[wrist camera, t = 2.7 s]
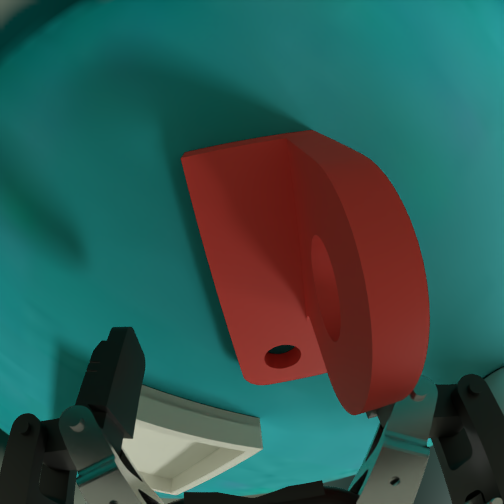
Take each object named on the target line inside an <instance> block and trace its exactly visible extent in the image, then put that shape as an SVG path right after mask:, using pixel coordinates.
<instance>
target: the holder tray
mask: <svg viewBox="0 0 504 504" xmlns="http://www.w3.org/2000/svg"><path fill="white" fill-rule="evenodd" d="M122 447H123V449H124V450H125V452H126V453H127V455H128V457H129V458H130V460H131V461H132V463H133V464H134V466H135V467H136V469H137V470H138V472H139V473H140V475H141V476H142V477H143V479H144V480H145V482H146V483H147V484H148V486H149V487H150V488H151V489H152V490H153V491H158V492H162V493H167V494H172V495H178V494H180V493H182V492H184V491H186V490H189V489H191V488H193V487H195V486H197V485H199V484H201V483H203V482H205V481H207V480H209V479H211V478H213V477H215V476H217V475H219V474H220V473H222V472H224V471H226V470H228V469H230V468H231V467H233V466H235V465H237V464H239V463H240V462H242V461H244V460H245V459H247V458H249V457H250V456H252V455H254V454H255V453H257V452H259V451H260V450H262V449H263V445H262V436H261V427H260V418H256V417H251V416H247V415H242V414H238V413H234V412H230V411H226V410H222V409H218V408H214V407H210V406H207V405H203V404H199V403H196V402H193V401H189V400H186V399H183V398H180V397H176V396H173V395H170V394H167V393H164V392H161V391H158V390H155V389H153V388H150V387H147V386H144V385H142V387H141V393H140V398H139V404H138V410H137V416H136V422H135V429H134V436H133V439H126V438H123V442H122Z"/></svg>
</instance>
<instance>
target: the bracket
mask: <svg viewBox="0 0 504 504" xmlns="http://www.w3.org/2000/svg"><path fill="white" fill-rule="evenodd" d="M181 161H182V166H183V170H184V174H185V178H186V182H187V186H188V189H189V193H190V197H191V201H192V205H193V209H194V212H195V216H196V220H197V224H198V227H199V231H200V235H201V238H202V242H203V246H204V249H205V253H206V256H207V260H208V263H209V267H210V270H211V274H212V277H213V281H214V284H215V287H216V291H217V294H218V297H219V301H220V304H221V307H222V311H223V314H224V317H225V320H226V324H227V327H228V330H229V333H230V336H231V340H232V343H233V346H234V349H235V352H236V355H237V358H238V361H239V364H240V367H241V370H242V373H243V376H244V378H245V379H246V380H247V381H248V382H250V383H252V384H256V385H268V384H274V383H280V382H285V381H290V380H295V379H300V378H305V377H310V376H315V375H319V374H323V373H328V376H329V378H330V381H331V384H332V386H333V389H334V391H335V393H336V395H337V397H338V399H339V401H340V403H341V404H342V406H343V407H344V409H345V410H346V411H347V412H348V413H350V414H351V415H357V414H361V413H364V412H368V411H371V410H374V409H377V408H380V407H384V406H387V405H390V404H393V403H395V402H398V401H401V400H403V399H405V398H406V397H407V396H408V395H409V394H410V393H411V392H412V391H413V389H414V388H415V386H416V384H417V382H418V380H419V378H420V375H421V373H422V370H423V367H424V363H425V359H426V354H427V348H428V340H429V326H430V316H429V296H428V287H427V279H426V274H425V268H424V263H423V259H422V255H421V251H420V247H419V244H418V240H417V237H416V234H415V231H414V229H413V226H412V223H411V220H410V218H409V216H408V214H407V211H406V209H405V207H404V205H403V203H402V201H401V199H400V197H399V195H398V194H397V192H396V190H395V188H394V187H393V185H392V184H391V182H390V181H389V179H388V178H387V177H386V175H385V174H384V173H383V172H382V171H381V169H380V168H379V167H378V166H377V165H376V164H375V163H374V162H373V161H371V160H370V159H369V158H367V157H366V156H364V155H363V154H361V153H359V152H357V151H355V150H353V149H351V148H349V147H347V146H345V145H343V144H341V143H339V142H337V141H335V140H333V139H331V138H328V137H326V136H324V135H322V134H320V133H318V132H316V131H313V130H307V131H300V132H292V133H285V134H278V135H272V136H265V137H259V138H253V139H248V140H242V141H237V142H231V143H226V144H221V145H216V146H212V147H207V148H202V149H198V150H193V151H189V152H185V153H184V154H183V156H182V157H181ZM280 345H293V346H295V347H294V348H293V349H292V350H290V351H288V352H286V353H282V354H272V353H269V352H268V351H269V350H270V349H272V348H274V347H276V346H280Z"/></svg>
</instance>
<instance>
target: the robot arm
mask: <svg viewBox="0 0 504 504" xmlns="http://www.w3.org/2000/svg"><path fill="white" fill-rule="evenodd" d="M144 371H145V357H144V353H143V351H142V349H141V346H140V344H139V342H138V339H137V337H136V334H135V332H134V330H133V328H132V327H113V328H112V329H111V331H110V334H109V336H108V339H107V341H101V342H100V343H99V345H98V346H97V347H96V348H95V349H94V351H93V353H92V356H91V359H90V363H89V365H88V367H87V372H86V373H85V376H84V379H83V382H82V385H81V388H80V391H79V395H78V398H77V401H76V404H75V406H71V407H69V408H67V409H66V410H65V411H64V412H63V413H62V414H61V416H60V418H58V419H52V420H46V421H40V420H39V419H38V418H37V417H36V416H35V415H33V414H30V413H26V414H22V415H20V416H19V417H18V418H17V419H16V420H15V421H14V423H13V425H12V428H11V432H10V435H9V439H8V442H7V447H6V451H5V455H4V459H3V463H2V467H1V472H0V504H74V491H75V482H77V485H78V487H79V489H80V491H81V493H82V495H83V497H84V499H85V501H86V503H87V504H164V503H163V501H162V500H161V499H160V498H159V497H158V495H157V494H156V493H155V492H154V491H153V490H152V489H151V488H150V487H149V486H148V484H147V483H146V482H145V480H144V479H143V477H142V476H141V475H140V473H139V472H138V470H137V469H136V467H135V466H134V464H133V463H132V461H131V460H130V458H129V457H128V455H127V453H126V452H125V450H124V449H123V447H122V442H123V438H126V439H133V436H134V429H135V422H136V416H137V410H138V404H139V398H140V393H141V387H142V382H143V377H144ZM366 414H367V417H368V419H369V418H372V417H376V416H378V418H379V420H380V423H379V425H378V428H377V431H376V433H375V436H374V438H373V440H372V443H371V445H370V448H369V450H368V452H367V454H366V457H365V459H364V461H363V463H362V465H361V467H360V469H359V471H358V472H357V474H356V476H355V478H354V480H353V482H352V483H351V485H350V487H349V489H348V490H345V489H341V488H337V487H329V486H323V483H322V480H321V481H316V482H311V483H306V484H300V485H294V486H288V487H285V488H283V489H280V490H277V491H274V492H271V493H269V494H266V495H263V496H260V497H256V498H248V497H241V496H235V495H229V494H223V493H218V492H184V498H183V499H179V500H176V501H173V502H171V503H168V504H413V502H414V499H415V497H416V494H417V491H418V488H419V485H420V483H421V480H422V477H423V474H424V471H425V467H426V464H427V461H428V457H429V453H430V448H429V447H427V440H428V438H431V440H432V442H433V445H434V448H435V451H436V454H437V457H438V459H439V462H440V465H441V468H442V471H443V474H444V477H445V481H446V484H447V487H448V490H449V494H450V497H451V500H452V504H504V367H503V368H501V369H499V370H497V371H496V372H494V373H492V374H491V375H489V376H488V377H487V378H485V379H483V378H481V377H480V376H478V375H474V374H468V375H465V376H463V377H462V378H461V379H460V381H459V382H458V384H452V385H436V384H434V382H433V381H432V380H430V379H429V378H427V377H425V376H422V375H420V378H419V380H418V382H417V384H416V386H415V388H414V389H413V391H412V392H411V393H410V394H409V395H408V396H407V397H406V398H405V399H403V400H401V401H398V402H395V403H393V404H390V405H387V406H384V407H380V408H377V409H374V410H371V411H368V412H366ZM42 463H43V465H42ZM41 468H42V471H41ZM77 472H78V474H79V477H77V478H76V475H77ZM40 474H41V477H40ZM39 480H40V483H39Z"/></svg>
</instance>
